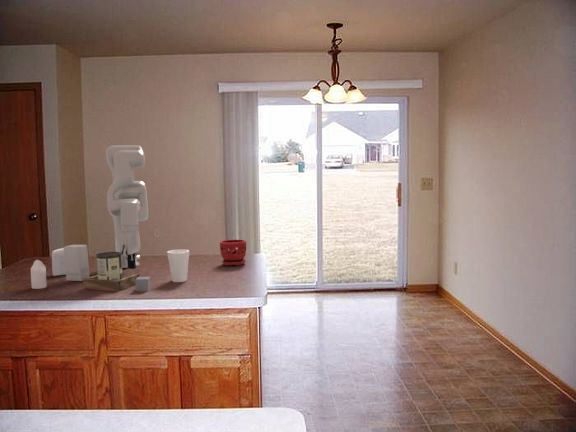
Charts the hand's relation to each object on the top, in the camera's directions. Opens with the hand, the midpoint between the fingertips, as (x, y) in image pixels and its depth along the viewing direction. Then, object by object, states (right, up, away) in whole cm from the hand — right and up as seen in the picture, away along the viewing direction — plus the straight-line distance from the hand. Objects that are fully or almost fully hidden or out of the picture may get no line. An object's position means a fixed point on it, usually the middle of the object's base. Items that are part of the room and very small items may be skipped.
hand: (131, 268), depth 262 cm
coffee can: (-5, -6, -17) cm, 18 cm away
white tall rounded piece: (-35, -7, -16) cm, 39 cm away
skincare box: (-24, -5, -2) cm, 24 cm away
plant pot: (+43, -1, +28) cm, 52 cm away
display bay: (-4, -6, -15) cm, 17 cm away
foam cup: (+23, -5, -7) cm, 25 cm away
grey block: (+11, -7, -23) cm, 27 cm away
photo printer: (-34, -4, +10) cm, 36 cm away
